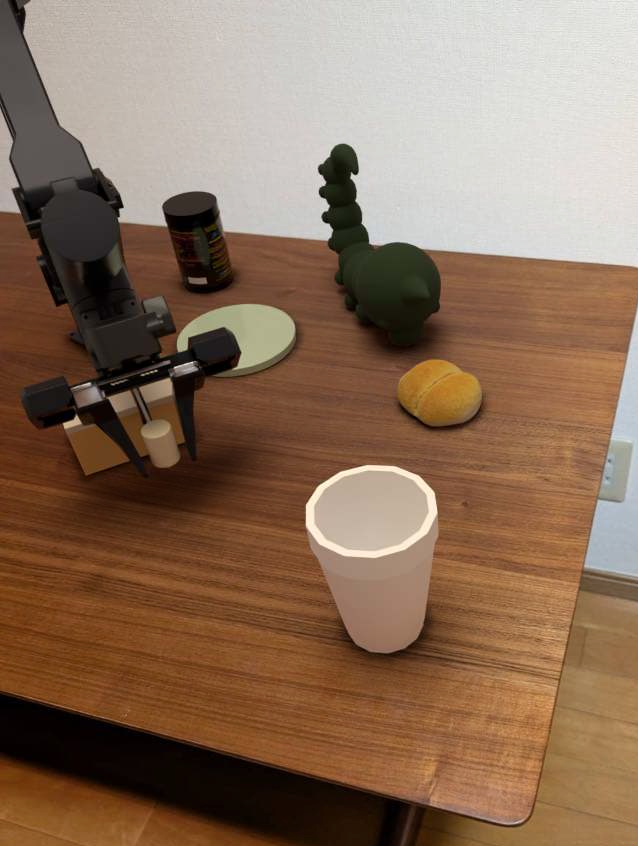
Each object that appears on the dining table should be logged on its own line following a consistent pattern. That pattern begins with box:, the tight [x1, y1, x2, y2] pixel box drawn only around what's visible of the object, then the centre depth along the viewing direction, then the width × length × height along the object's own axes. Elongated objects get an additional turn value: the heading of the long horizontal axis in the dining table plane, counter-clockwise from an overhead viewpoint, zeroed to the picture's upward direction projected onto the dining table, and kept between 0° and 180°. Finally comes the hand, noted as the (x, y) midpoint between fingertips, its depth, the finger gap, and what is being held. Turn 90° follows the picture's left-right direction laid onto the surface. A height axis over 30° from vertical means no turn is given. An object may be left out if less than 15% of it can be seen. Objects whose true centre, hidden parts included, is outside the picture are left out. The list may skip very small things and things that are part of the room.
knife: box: [131, 388, 181, 470], centre depth 81 cm, size 17×3×9 cm, turn 26°
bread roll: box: [396, 359, 483, 427], centre depth 87 cm, size 8×9×4 cm
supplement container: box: [161, 190, 234, 293], centre depth 105 cm, size 7×7×10 cm
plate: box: [176, 303, 297, 378], centre depth 98 cm, size 14×14×1 cm
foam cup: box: [305, 464, 439, 654], centre depth 64 cm, size 10×9×13 cm
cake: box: [62, 379, 149, 476], centre depth 84 cm, size 6×7×6 cm
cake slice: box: [136, 370, 185, 446], centre depth 86 cm, size 6×4×6 cm, turn 26°
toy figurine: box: [317, 143, 442, 347], centre depth 94 cm, size 9×19×25 cm
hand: (170, 468), depth 74 cm, fingers open, 4 cm apart
